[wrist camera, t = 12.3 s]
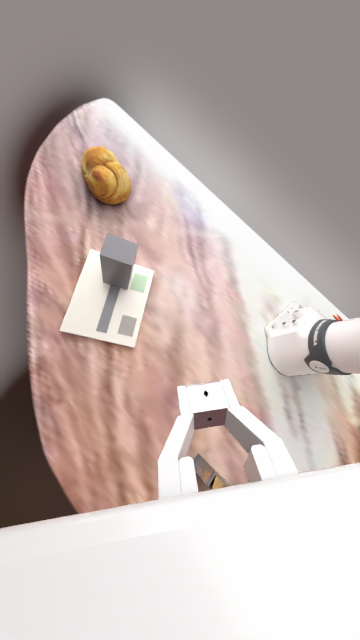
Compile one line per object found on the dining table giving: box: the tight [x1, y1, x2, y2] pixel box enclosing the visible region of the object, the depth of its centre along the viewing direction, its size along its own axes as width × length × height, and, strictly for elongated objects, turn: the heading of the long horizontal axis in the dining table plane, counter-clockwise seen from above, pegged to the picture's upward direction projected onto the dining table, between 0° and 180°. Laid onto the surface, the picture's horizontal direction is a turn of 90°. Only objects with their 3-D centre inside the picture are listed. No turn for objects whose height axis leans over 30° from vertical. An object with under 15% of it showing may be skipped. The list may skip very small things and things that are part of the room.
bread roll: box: [81, 146, 131, 205], centre depth 42 cm, size 13×10×8 cm
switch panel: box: [60, 249, 154, 348], centre depth 40 cm, size 18×14×2 cm
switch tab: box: [100, 233, 138, 290], centre depth 35 cm, size 4×5×11 cm
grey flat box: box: [194, 454, 230, 490], centre depth 36 cm, size 11×3×10 cm, turn 46°
